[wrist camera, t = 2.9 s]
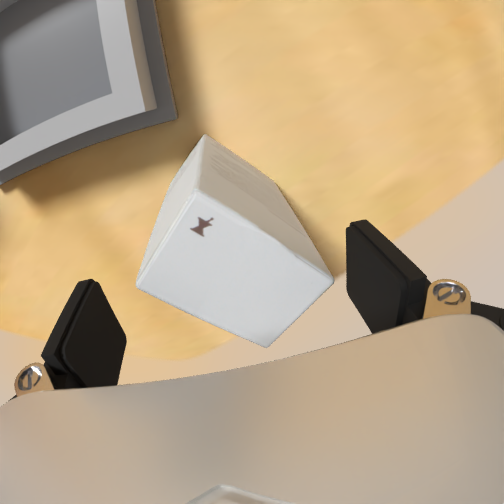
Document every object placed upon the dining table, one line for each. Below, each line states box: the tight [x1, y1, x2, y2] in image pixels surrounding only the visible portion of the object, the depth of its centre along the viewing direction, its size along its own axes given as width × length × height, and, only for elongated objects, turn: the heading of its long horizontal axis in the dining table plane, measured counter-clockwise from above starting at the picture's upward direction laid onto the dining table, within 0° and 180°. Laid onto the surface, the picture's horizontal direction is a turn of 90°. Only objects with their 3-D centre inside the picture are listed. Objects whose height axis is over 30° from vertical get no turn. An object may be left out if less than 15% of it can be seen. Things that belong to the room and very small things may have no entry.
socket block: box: [0, 0, 178, 185], centre depth 12 cm, size 16×16×4 cm
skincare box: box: [136, 134, 334, 348], centre depth 15 cm, size 6×4×12 cm
